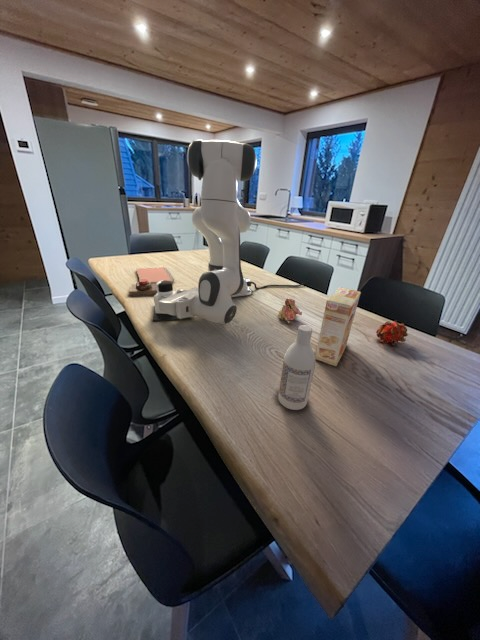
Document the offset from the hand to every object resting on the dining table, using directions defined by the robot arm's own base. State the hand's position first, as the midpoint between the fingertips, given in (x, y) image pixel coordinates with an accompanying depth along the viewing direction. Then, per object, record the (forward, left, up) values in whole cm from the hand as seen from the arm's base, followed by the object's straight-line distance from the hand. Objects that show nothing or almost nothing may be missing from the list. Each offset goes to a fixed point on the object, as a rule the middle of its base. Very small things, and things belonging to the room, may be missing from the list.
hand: (169, 294), depth 103 cm
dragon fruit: (-74, +37, -8) cm, 83 cm away
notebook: (+7, -48, -8) cm, 49 cm away
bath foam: (-28, +57, -8) cm, 63 cm away
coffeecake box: (-50, +39, -8) cm, 63 cm away
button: (+11, -25, -4) cm, 28 cm away
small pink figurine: (-47, +14, -8) cm, 49 cm away
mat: (-1, +1, -7) cm, 7 cm away
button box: (+11, -25, -7) cm, 29 cm away
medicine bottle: (+1, 0, -7) cm, 7 cm away
